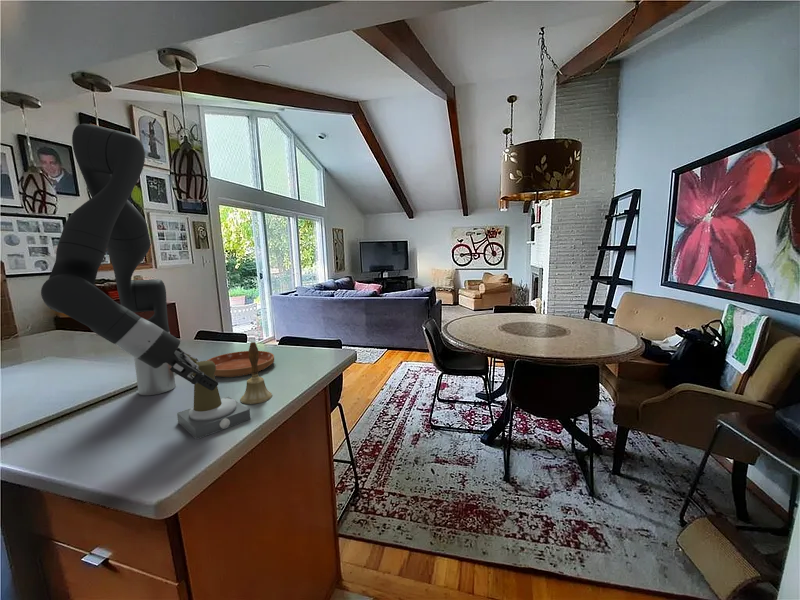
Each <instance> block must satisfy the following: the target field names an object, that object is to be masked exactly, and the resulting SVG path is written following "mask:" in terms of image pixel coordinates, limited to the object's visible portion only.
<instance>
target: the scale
mask: <svg viewBox="0 0 800 600" xmlns="http://www.w3.org/2000/svg"><path fill="white" fill-rule="evenodd" d="M220 399H221V402H222V404H221V405H220V406H219V407H217V408H215V409H212V410H208V411H195V410H194V406H193V407H191V408H188V409H184V410H182V411H177V412H176V414H177V415H176V416H177V423H178V424H179V425H180V426H181V427H182V428H183V429H185V430H186V431H187V432H188V433H189V434H190V435H191V436H192V437H193V438H194V439H195V440H198V439H201V438H204V437H206V436H207V437H208V435H212V434H214V433H217V432H220V431H222V430H225V429H228V428H230V427H232V426H233V427H234V426H235V425H238V424H240V423H243V422H246V421H249V420H251V410H250V408H248V407H247V406H245V405H244V404H243V403H241V402H238V401H237V400H235V399H234V398H232V397H230V396H226V397H223V398H220Z"/></svg>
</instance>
